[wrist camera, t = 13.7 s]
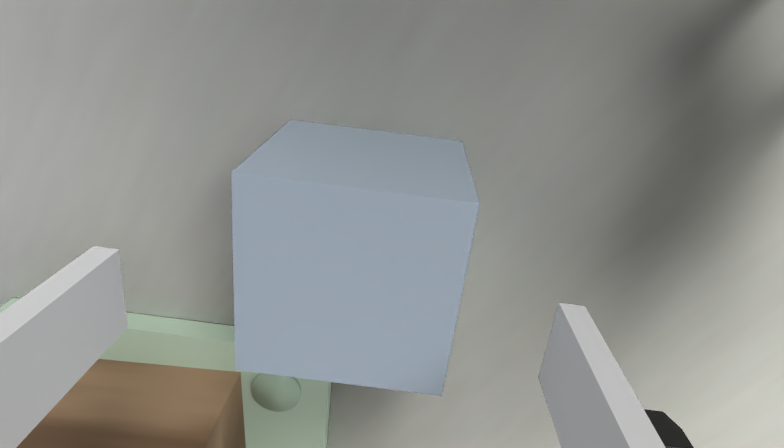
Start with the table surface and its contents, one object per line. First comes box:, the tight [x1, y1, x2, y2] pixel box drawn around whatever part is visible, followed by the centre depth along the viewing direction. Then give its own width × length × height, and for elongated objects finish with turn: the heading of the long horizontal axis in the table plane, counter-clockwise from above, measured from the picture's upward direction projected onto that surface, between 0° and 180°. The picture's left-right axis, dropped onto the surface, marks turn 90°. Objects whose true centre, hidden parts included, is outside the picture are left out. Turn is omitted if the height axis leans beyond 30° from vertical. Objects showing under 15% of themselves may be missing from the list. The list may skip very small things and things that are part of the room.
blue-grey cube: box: [231, 120, 480, 396], centre depth 19 cm, size 7×7×7 cm
